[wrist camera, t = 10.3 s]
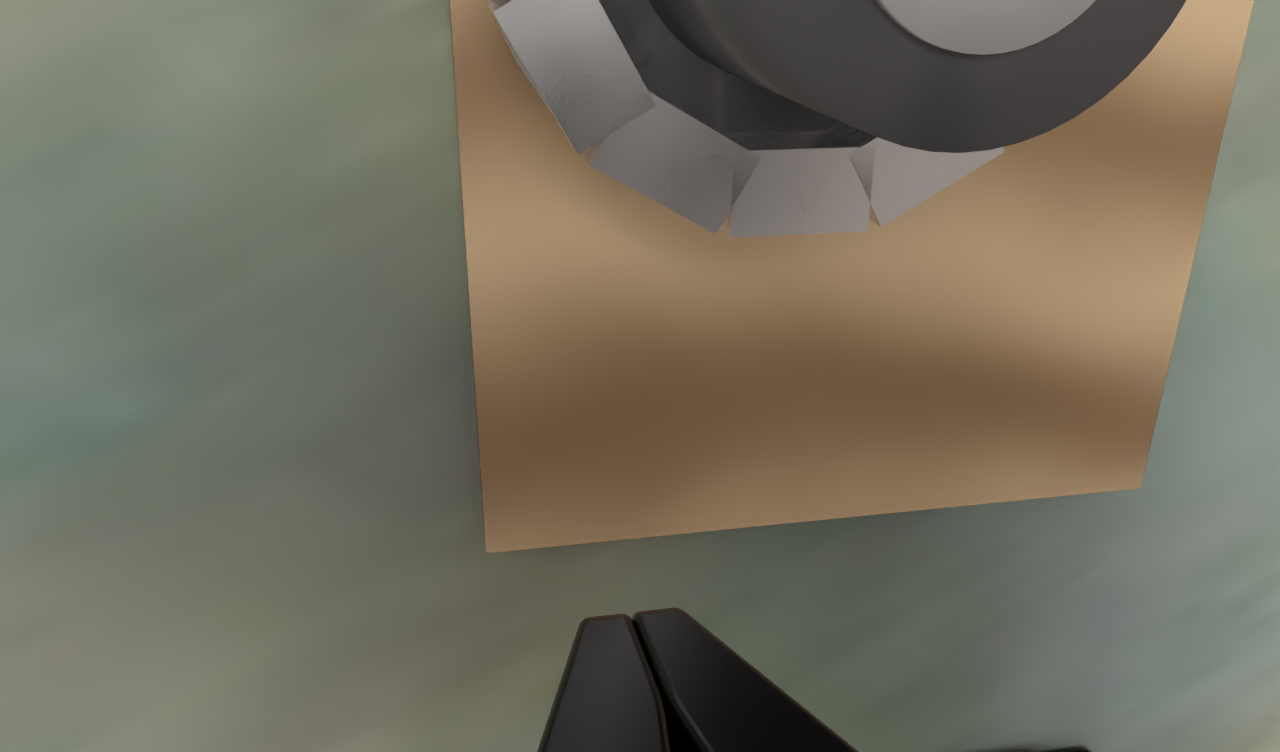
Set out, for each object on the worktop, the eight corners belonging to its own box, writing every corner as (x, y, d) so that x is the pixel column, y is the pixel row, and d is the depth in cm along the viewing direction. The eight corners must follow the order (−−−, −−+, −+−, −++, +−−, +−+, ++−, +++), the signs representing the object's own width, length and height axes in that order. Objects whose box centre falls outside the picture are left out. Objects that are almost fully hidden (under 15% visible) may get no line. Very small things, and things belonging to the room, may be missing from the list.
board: (1113, 467, 24) (1140, 488, 23) (484, 527, 21) (486, 553, 21) (1319, -471, 17) (1369, -494, 16) (412, -551, 14) (411, -585, 13)
